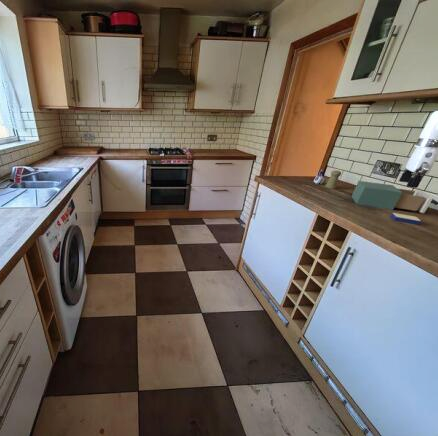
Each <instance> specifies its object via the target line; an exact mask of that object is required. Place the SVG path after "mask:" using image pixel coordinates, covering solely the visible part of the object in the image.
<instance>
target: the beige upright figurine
mask: <svg viewBox="0 0 438 436" xmlns="http://www.w3.org/2000/svg"><path fill="white" fill-rule="evenodd" d="M341 175H342V171H340V170H337V169H334V170H332V171H331V172H330V177H329V178H328V180H327V181H326V184H325V186H324V187H325V188H328V189H333V190H334V189H337V187H338V183H339V178H340V176H341Z"/></svg>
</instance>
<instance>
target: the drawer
mask: <svg viewBox="0 0 438 436" xmlns="http://www.w3.org/2000/svg"><path fill="white" fill-rule="evenodd" d="M396 188H397V187H396ZM397 189H398V190H400V191H401V192H402V194H401V196H400V198H399V200H398V201H397V203H396V205H395V207H394V209H402V210H407V211H414V212H419V213H420V214H425V213H426V211H427V209H428V207H429V206H430V204H433V205H434V206H438V201H437V200H436V199H434V198H433V197H432V196H430V195H428V194H426V193H425V192H424V191H422V190H417V191H416V190H411V189H405V188H397ZM414 194H415V195H414Z"/></svg>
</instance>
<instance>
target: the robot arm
mask: <svg viewBox="0 0 438 436" xmlns="http://www.w3.org/2000/svg"><path fill="white" fill-rule="evenodd" d="M414 147H415V149H414V150H413V152H412V153H411V155H410V157H409V159H408V160H407V162H406V164H405V169H404V170H403V172H402V173H401V176H400V177H399V179H398V181H399V182H401V183H406V187H407V188H414V189H417V188H418V187H419V185H420V183H421V182H422V181H423V179H424V177H425V176H426V174H429V173H430V172H431V170H432V168H433V166H434V164H435V162H436V160H437V158H438V110H436V111H435V110H434V111H433V112H432V113H431V114H430V116H429V118H428V120H427V121H426V123H425V125H424V128H422V131H421V132H420V135H419V137H418V138H417V140H416V142H415V144H414Z"/></svg>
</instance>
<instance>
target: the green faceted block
mask: <svg viewBox="0 0 438 436" xmlns="http://www.w3.org/2000/svg"><path fill="white" fill-rule="evenodd" d="M398 189H399V188H398ZM398 189H397V187H396V186H394V185H393V184H387V183H379V182H372V181H363V180H358V181H357V183H356V186H355V187H354V189H353V192H352V195H351V198H352V199H353V201H354V203H355V204H356V205H360V206H365V207H371V208H372V207H373V208H377V209H384V210H390V211H394V209H395V205H396V203H397V201H398V200H399V198H400V196H401V194H402V192H401V191H400V190H398Z"/></svg>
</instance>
